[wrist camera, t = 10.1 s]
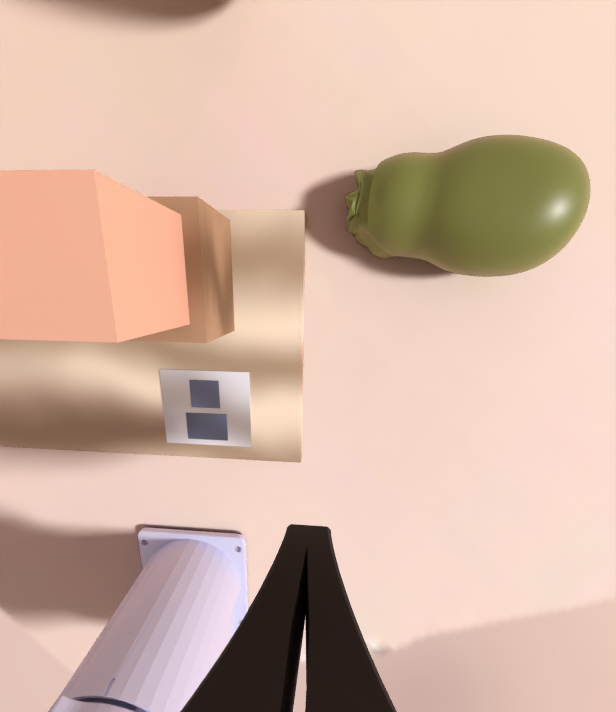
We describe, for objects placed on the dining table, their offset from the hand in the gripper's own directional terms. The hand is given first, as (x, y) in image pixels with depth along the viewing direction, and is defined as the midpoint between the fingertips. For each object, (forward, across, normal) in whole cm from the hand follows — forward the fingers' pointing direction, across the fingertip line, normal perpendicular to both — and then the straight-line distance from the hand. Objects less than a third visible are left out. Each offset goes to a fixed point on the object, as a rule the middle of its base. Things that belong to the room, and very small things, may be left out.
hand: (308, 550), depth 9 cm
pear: (+10, -6, -12) cm, 17 cm away
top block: (+5, +8, -9) cm, 13 cm away
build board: (+9, +12, -5) cm, 16 cm away
